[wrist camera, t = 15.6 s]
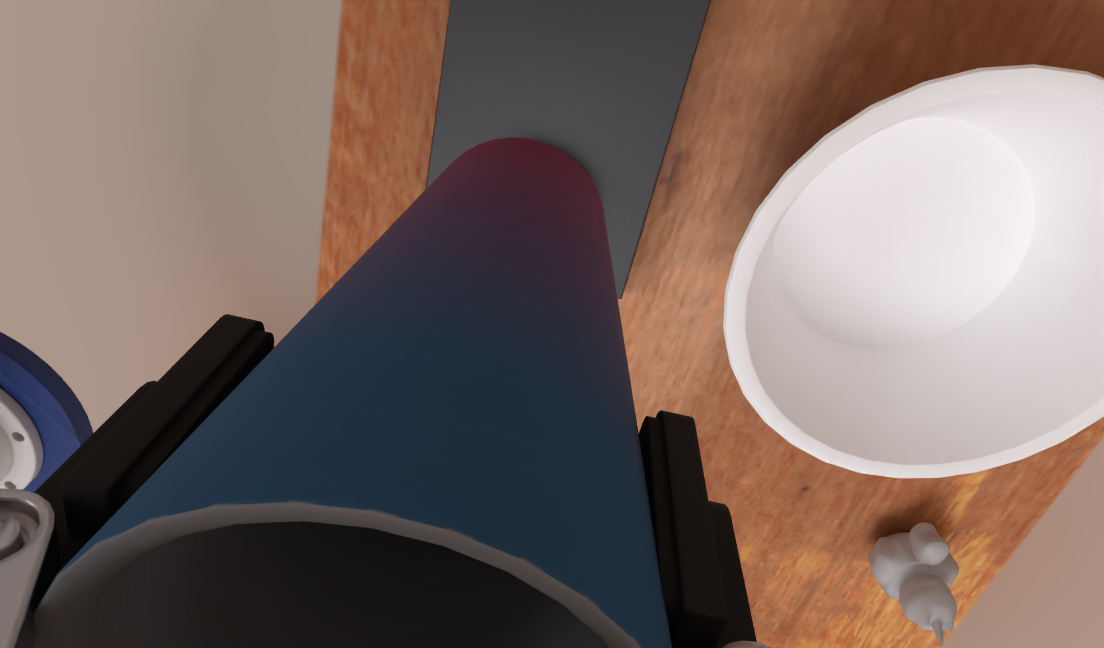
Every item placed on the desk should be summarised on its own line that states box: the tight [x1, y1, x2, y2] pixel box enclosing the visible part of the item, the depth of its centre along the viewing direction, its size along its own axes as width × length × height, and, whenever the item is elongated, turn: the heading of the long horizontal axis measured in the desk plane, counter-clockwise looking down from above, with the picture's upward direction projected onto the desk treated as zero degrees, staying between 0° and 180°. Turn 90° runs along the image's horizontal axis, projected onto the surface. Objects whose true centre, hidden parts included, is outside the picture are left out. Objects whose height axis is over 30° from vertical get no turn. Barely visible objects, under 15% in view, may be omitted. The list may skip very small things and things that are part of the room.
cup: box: [33, 137, 672, 648], centre depth 14 cm, size 7×7×15 cm
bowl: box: [723, 64, 1104, 478], centre depth 36 cm, size 21×21×8 cm
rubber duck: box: [869, 522, 959, 645], centre depth 47 cm, size 5×7×8 cm
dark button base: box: [426, 0, 711, 299], centre depth 36 cm, size 18×12×4 cm, turn 168°
